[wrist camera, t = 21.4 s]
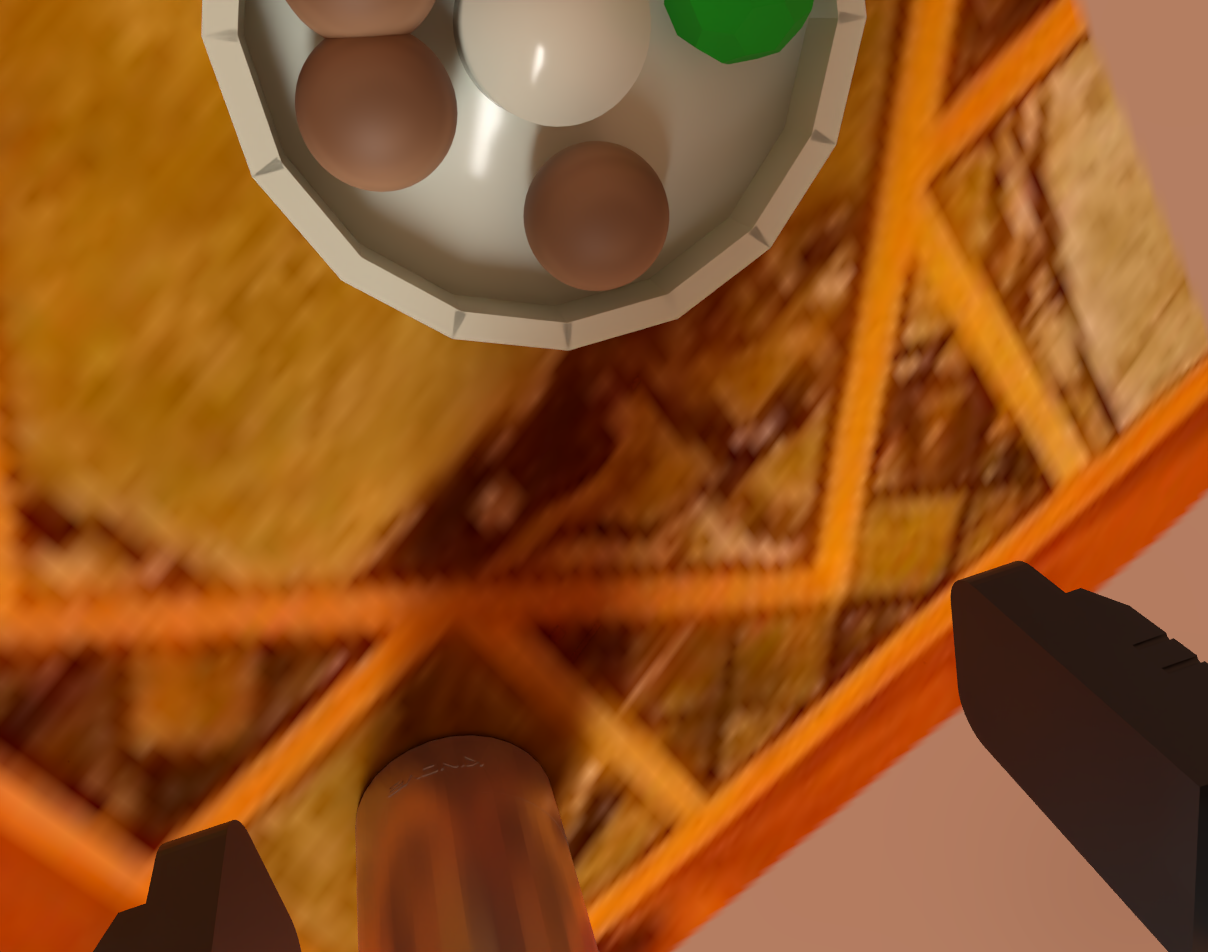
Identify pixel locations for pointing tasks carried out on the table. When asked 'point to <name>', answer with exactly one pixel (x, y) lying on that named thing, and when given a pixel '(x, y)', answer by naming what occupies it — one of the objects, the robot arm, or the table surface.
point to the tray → (549, 154)
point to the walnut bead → (596, 216)
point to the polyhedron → (738, 26)
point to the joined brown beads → (373, 93)
